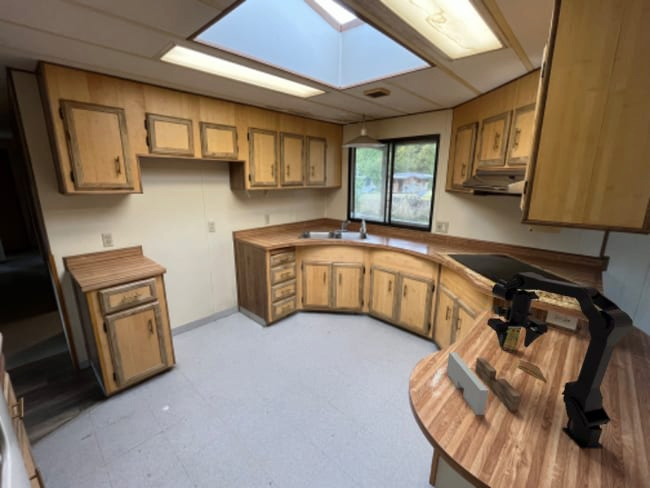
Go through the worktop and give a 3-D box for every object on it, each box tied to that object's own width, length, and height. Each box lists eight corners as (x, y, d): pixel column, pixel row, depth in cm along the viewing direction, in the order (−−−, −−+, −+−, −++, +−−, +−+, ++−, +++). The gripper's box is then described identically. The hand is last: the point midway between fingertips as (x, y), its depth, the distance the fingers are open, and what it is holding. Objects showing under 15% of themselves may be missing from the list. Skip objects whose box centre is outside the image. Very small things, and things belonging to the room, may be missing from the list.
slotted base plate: (517, 411, 91) (521, 395, 90) (510, 411, 91) (513, 395, 89) (481, 371, 110) (483, 357, 109) (474, 371, 110) (477, 357, 109)
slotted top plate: (483, 414, 89) (488, 390, 87) (476, 415, 89) (480, 390, 87) (452, 373, 109) (455, 352, 107) (446, 373, 109) (449, 352, 107)
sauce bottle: (499, 350, 125) (507, 308, 121) (498, 343, 130) (506, 303, 126) (517, 354, 122) (525, 312, 118) (515, 347, 128) (523, 306, 123)
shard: (546, 384, 105) (547, 380, 104) (521, 378, 107) (522, 374, 107) (536, 367, 115) (537, 363, 114) (514, 362, 117) (515, 358, 117)
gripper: (529, 298, 108) (522, 335, 111) (481, 297, 107) (476, 334, 111) (553, 310, 97) (544, 351, 100) (500, 310, 96) (493, 351, 100)
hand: (513, 346), depth 103 cm, fingers open, 9 cm apart
